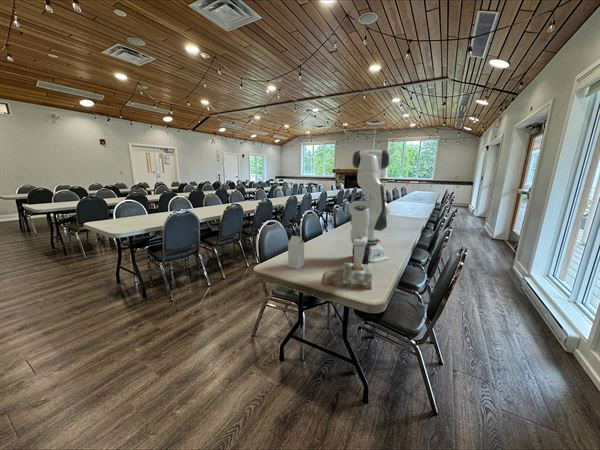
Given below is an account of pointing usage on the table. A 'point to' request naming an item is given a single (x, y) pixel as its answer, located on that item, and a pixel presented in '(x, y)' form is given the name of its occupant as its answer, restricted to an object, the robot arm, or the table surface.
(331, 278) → the socket board
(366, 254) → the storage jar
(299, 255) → the milk carton
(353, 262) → the peg
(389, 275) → the table surface
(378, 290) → the table surface
